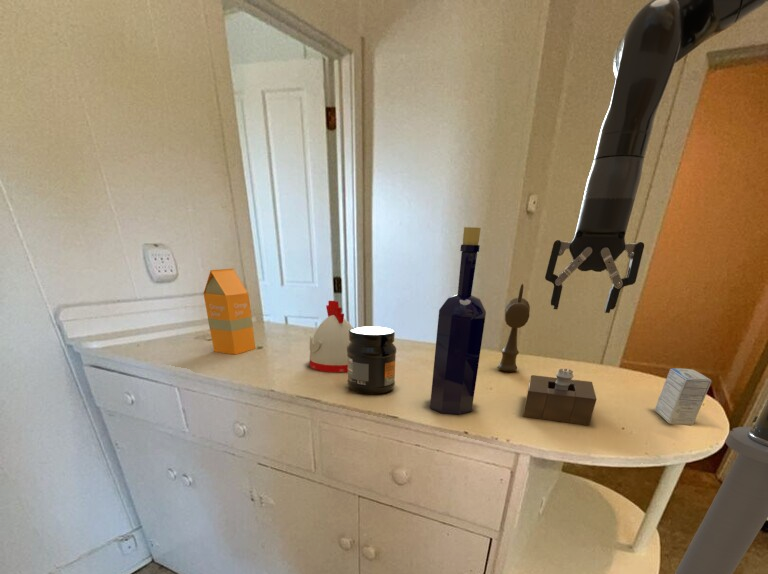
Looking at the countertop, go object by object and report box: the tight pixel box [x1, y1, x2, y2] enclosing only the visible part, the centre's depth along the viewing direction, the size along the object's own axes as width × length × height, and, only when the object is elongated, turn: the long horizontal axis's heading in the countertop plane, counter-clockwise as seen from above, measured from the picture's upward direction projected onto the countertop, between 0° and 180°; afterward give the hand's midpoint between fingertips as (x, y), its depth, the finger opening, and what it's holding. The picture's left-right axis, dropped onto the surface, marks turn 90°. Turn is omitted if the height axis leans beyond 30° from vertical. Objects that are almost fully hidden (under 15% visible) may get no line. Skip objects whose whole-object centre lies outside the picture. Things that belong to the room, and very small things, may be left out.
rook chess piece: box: [555, 368, 574, 390], centre depth 83 cm, size 4×4×8 cm
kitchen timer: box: [309, 300, 354, 373], centre depth 106 cm, size 14×14×15 cm
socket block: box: [522, 374, 598, 426], centre depth 84 cm, size 12×12×5 cm
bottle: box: [428, 226, 487, 416], centre depth 77 cm, size 9×9×30 cm
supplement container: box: [347, 326, 397, 395], centre depth 91 cm, size 10×10×12 cm
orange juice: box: [202, 268, 256, 356], centre depth 115 cm, size 8×9×20 cm
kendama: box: [497, 283, 531, 373], centre depth 105 cm, size 6×10×20 cm, turn 165°
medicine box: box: [654, 367, 712, 427], centre depth 81 cm, size 8×4×9 cm, turn 169°
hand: (580, 310), depth 75 cm, fingers open, 8 cm apart
